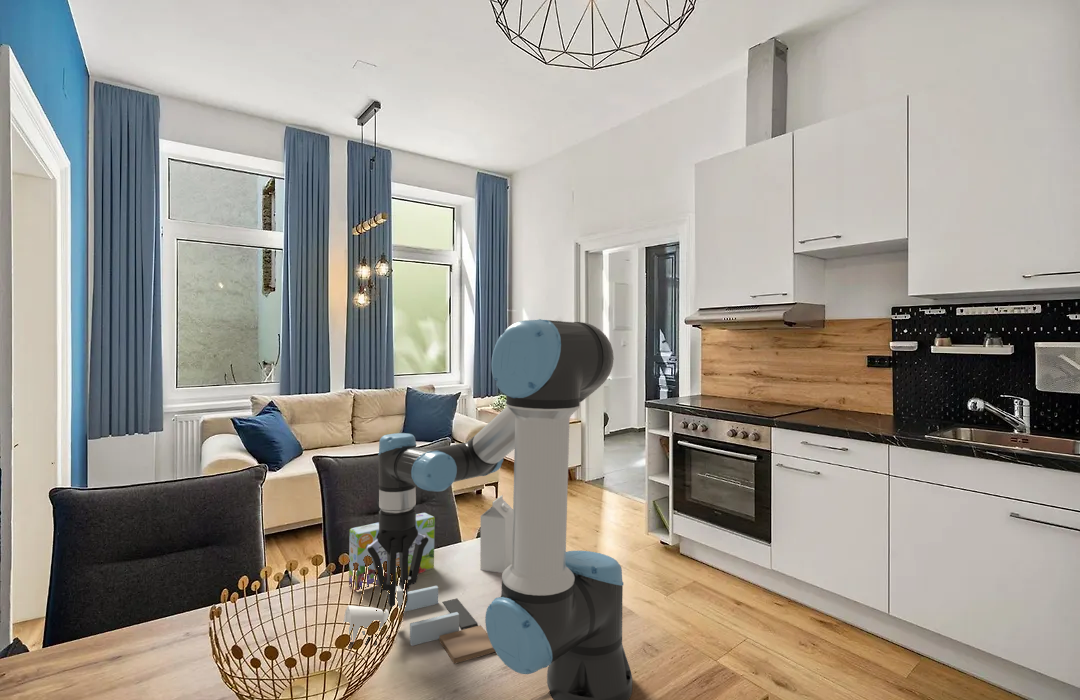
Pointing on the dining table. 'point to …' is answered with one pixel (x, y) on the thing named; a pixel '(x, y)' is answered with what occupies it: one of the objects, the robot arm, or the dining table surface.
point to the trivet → (466, 644)
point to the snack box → (369, 535)
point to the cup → (363, 617)
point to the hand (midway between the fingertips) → (397, 619)
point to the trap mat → (460, 613)
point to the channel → (432, 626)
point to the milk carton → (496, 537)
